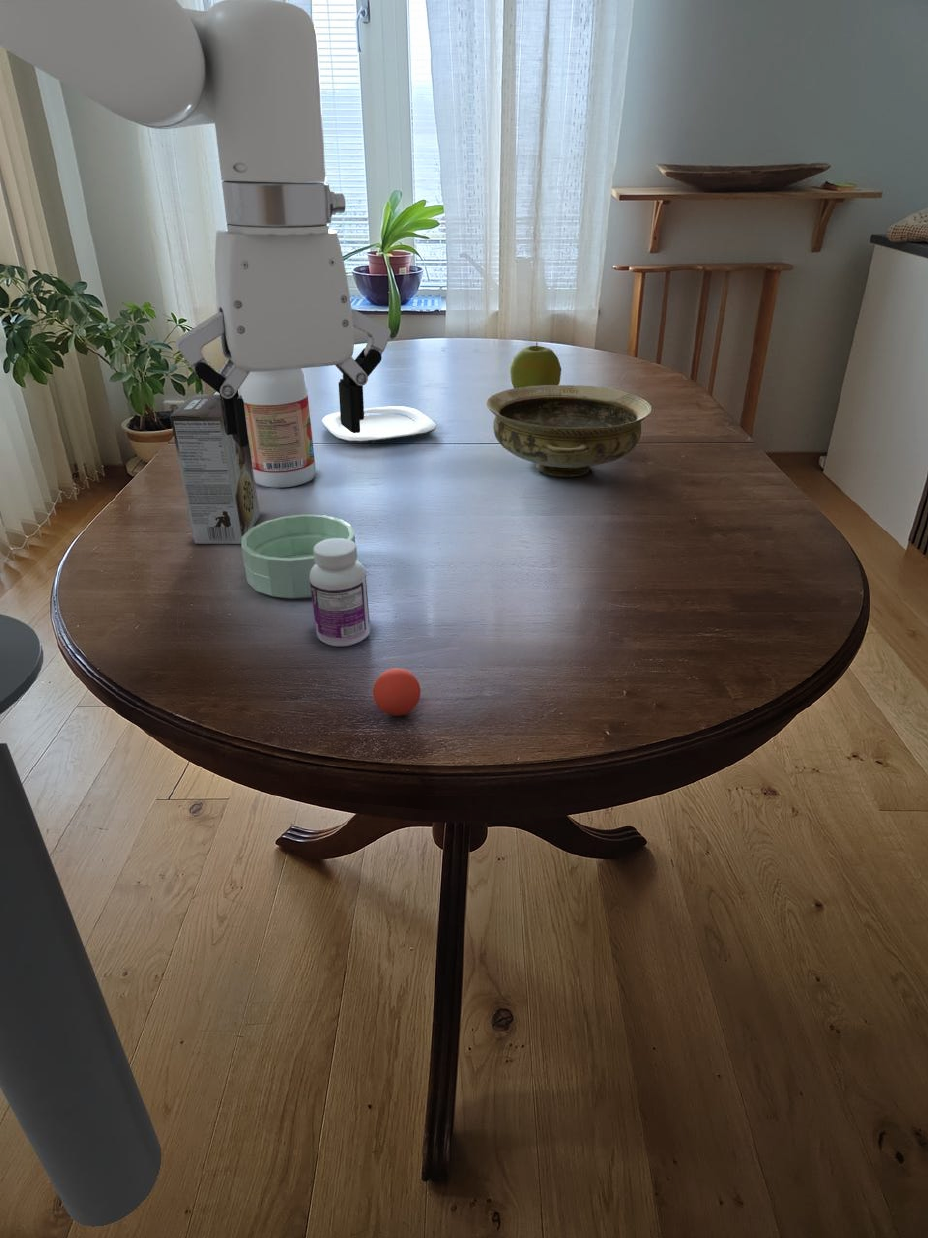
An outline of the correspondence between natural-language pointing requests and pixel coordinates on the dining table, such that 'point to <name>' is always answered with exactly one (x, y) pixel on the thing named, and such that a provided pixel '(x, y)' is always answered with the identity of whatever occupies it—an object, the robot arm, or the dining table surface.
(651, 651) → the dining table surface
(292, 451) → the fruit juice
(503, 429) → the ceramic bowl
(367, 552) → the dining table surface
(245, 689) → the dining table surface
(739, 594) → the dining table surface
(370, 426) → the plate
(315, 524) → the celadon bowl
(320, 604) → the pill bottle
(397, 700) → the rubber ball
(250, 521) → the grey cardboard box
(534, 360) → the apple
